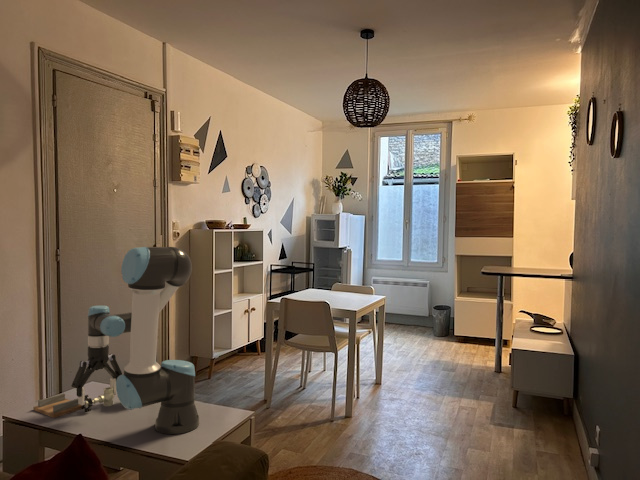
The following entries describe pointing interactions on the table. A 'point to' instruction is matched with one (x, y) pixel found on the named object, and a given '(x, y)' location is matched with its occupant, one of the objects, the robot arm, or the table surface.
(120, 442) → the table surface
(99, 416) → the table surface
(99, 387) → the table surface
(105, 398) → the valve
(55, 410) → the board
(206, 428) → the table surface
